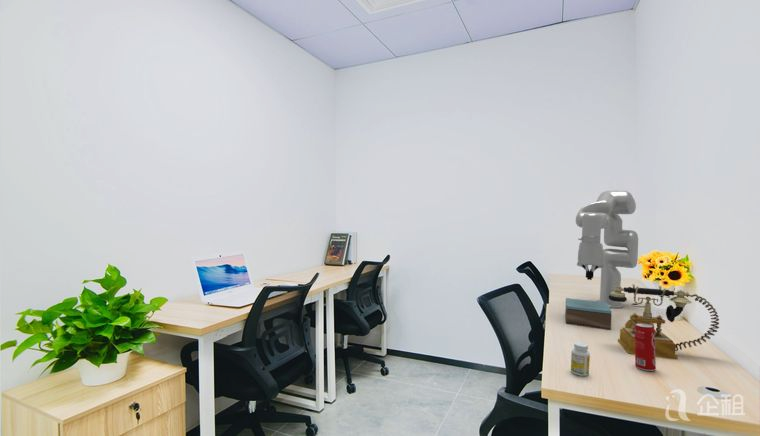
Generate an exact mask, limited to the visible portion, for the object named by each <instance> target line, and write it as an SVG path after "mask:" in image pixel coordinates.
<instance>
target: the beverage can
mask: <svg viewBox="0 0 760 436" xmlns="http://www.w3.org/2000/svg"><path fill="white" fill-rule="evenodd" d="M655 331H656V328H655V326H654V327H653V325H651V324H646V323H636V325H635V327H634V333H635V354H634V361H635V362H634V366H635V367H636V368H637V369H639V370H642V371H647V372H654V371H655V370H657V366H656V365H657V364H656V358H657V357H655Z"/></svg>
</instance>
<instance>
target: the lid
mask: <svg viewBox="0 0 760 436" xmlns="http://www.w3.org/2000/svg"><path fill="white" fill-rule="evenodd" d="M597 301H598V300H586V299H580V298H579V299H578V298H577V299H576V298H569V297H565V308H566V307H567V309H575V310H583V311H592V312H600V313H608V314H612V308H610V307H609V305H608V303H606V302H597ZM612 315H613V314H612Z"/></svg>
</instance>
